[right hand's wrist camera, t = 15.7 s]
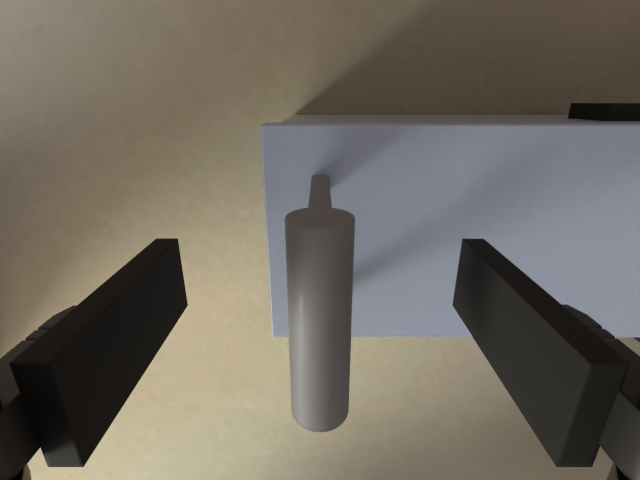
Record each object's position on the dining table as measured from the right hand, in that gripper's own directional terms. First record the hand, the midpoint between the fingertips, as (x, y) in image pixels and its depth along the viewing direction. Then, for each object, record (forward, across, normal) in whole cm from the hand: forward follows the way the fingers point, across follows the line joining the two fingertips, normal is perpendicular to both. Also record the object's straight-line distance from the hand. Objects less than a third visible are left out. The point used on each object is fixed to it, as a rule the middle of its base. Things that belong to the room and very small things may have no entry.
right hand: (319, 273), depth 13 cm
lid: (+4, -7, 0) cm, 8 cm away
